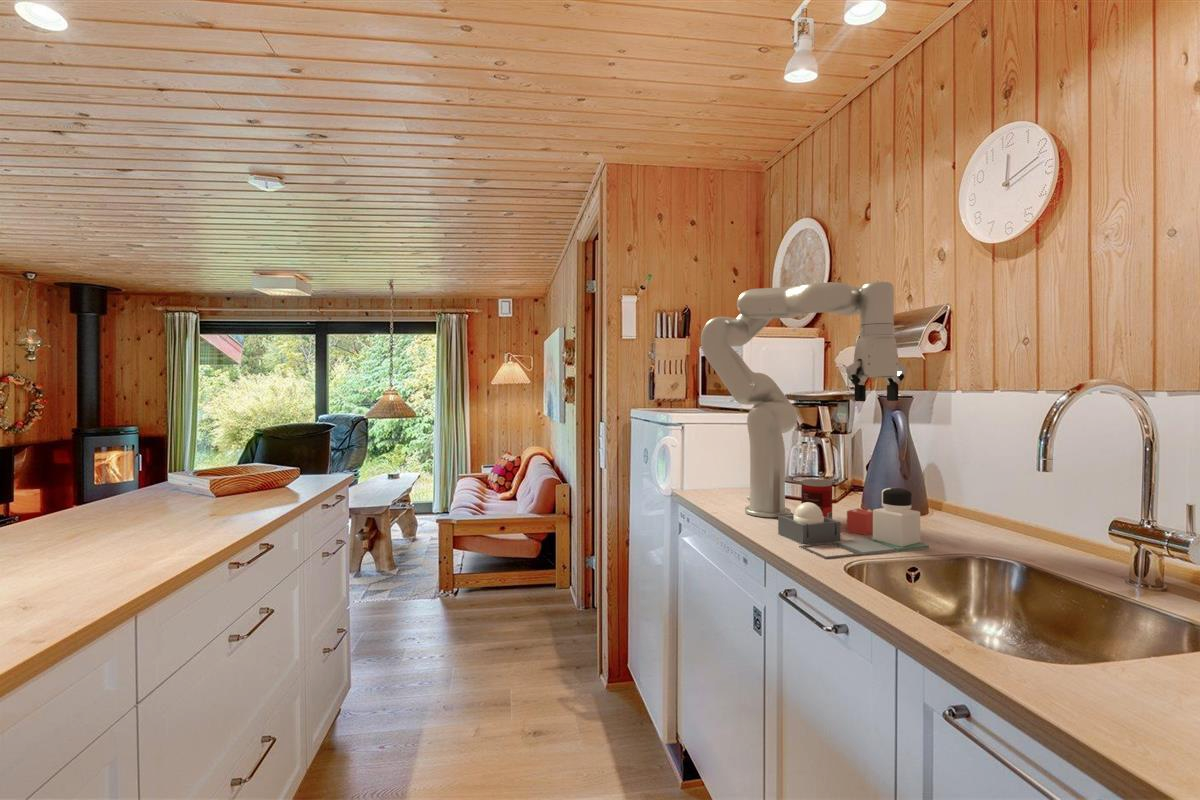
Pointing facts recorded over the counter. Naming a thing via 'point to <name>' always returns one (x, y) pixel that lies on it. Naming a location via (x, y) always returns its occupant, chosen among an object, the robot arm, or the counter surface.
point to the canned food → (818, 494)
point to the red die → (860, 521)
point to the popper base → (809, 530)
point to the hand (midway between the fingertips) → (876, 400)
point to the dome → (808, 513)
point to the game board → (865, 547)
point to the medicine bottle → (896, 519)
